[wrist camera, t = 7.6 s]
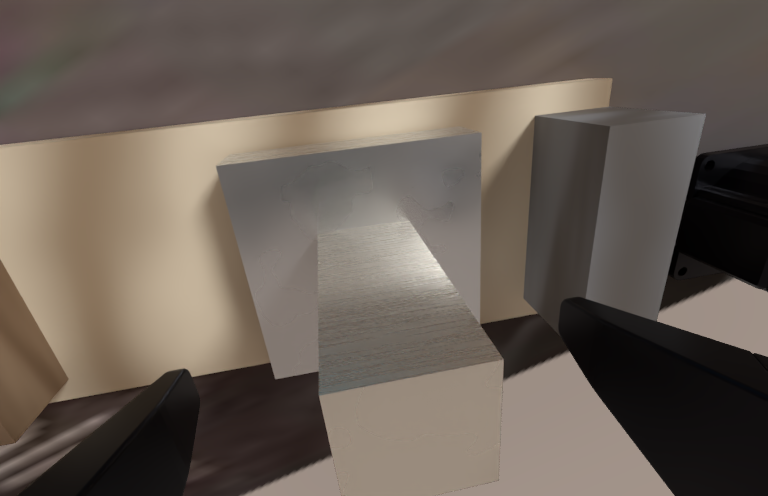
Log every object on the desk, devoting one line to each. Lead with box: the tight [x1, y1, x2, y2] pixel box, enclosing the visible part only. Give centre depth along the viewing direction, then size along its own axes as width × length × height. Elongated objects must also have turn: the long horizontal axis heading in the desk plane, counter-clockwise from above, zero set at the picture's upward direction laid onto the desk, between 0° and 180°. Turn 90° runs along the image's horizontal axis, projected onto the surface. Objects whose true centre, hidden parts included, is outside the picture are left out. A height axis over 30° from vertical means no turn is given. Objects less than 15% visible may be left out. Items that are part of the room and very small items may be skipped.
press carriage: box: [216, 126, 504, 496], centre depth 11 cm, size 8×8×9 cm
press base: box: [0, 78, 706, 446], centre depth 14 cm, size 24×10×6 cm, turn 96°
